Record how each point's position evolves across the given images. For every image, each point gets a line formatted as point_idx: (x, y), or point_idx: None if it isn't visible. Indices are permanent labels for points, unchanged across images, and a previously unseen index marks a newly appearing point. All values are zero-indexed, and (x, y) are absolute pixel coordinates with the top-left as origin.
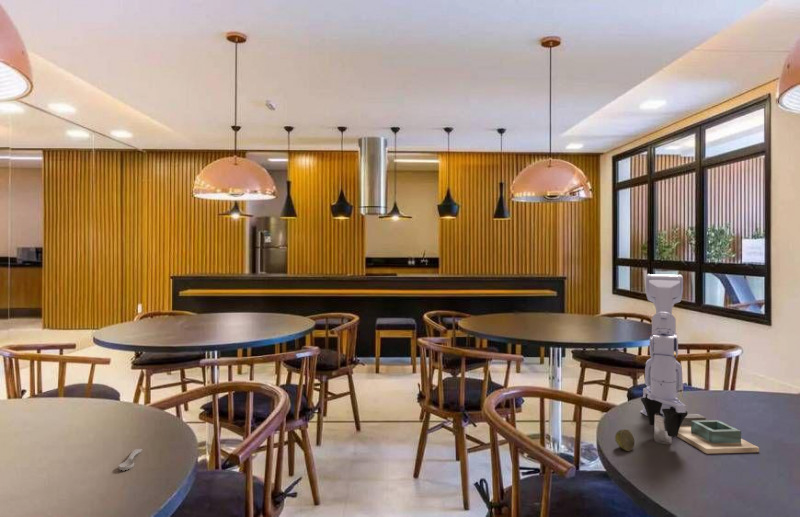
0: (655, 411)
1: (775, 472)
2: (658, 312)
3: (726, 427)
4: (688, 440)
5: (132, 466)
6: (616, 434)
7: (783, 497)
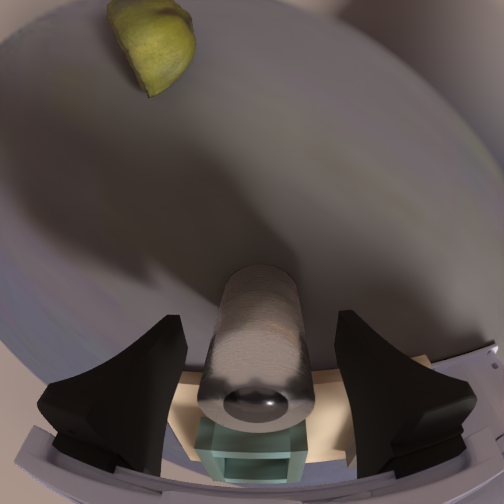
0: (358, 396)
1: None
2: None
3: (248, 476)
4: None
5: None
6: None
7: (4, 338)
